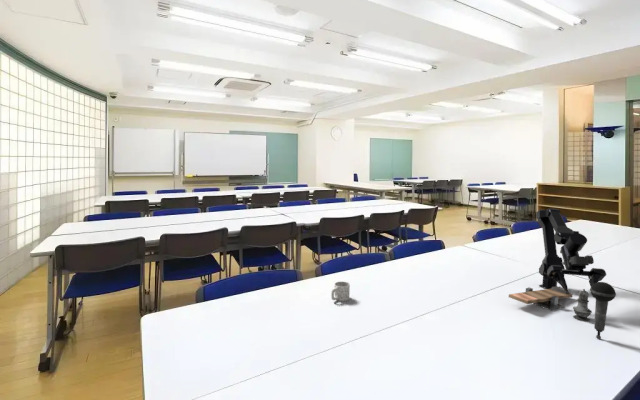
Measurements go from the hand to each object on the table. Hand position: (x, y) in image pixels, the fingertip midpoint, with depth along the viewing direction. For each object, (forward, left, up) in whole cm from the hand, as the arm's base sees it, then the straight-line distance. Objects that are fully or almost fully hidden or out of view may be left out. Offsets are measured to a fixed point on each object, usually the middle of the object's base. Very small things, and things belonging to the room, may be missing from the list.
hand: (580, 292), depth 132 cm
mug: (+77, -56, -10) cm, 96 cm away
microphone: (+14, +13, -10) cm, 21 cm away
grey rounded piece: (+2, +2, -10) cm, 10 cm away
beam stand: (+1, -14, -10) cm, 17 cm away
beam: (+1, -14, -6) cm, 16 cm away
